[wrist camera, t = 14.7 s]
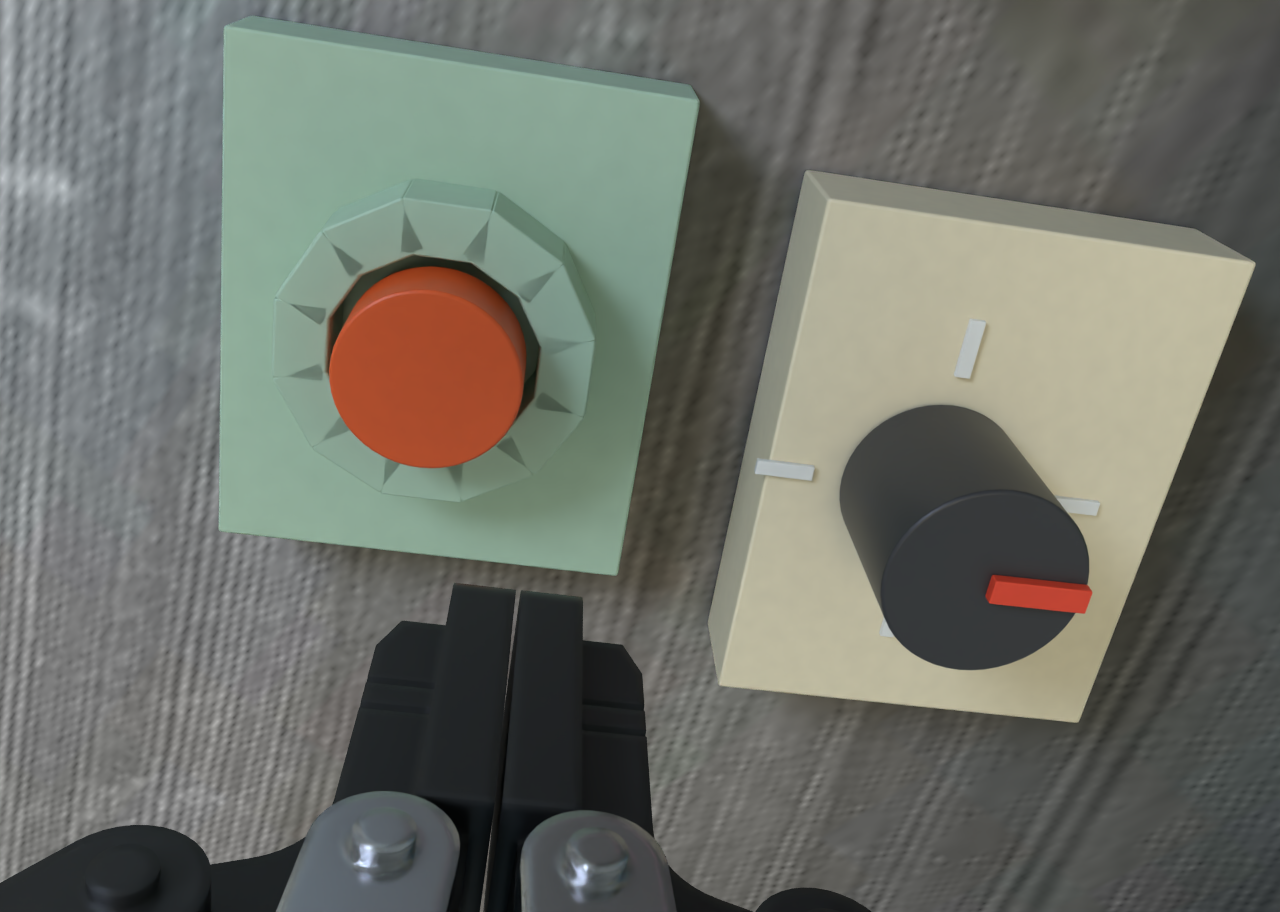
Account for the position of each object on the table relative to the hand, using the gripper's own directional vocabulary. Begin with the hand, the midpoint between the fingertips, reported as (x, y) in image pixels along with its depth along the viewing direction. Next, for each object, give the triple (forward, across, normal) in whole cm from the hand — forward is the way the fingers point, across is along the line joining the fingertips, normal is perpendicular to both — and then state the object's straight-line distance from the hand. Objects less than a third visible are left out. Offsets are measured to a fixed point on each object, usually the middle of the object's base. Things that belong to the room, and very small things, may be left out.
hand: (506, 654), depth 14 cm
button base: (+17, +2, +2) cm, 17 cm away
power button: (+13, +2, +2) cm, 13 cm away
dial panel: (+17, -11, +4) cm, 20 cm away
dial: (+14, -10, +4) cm, 17 cm away
